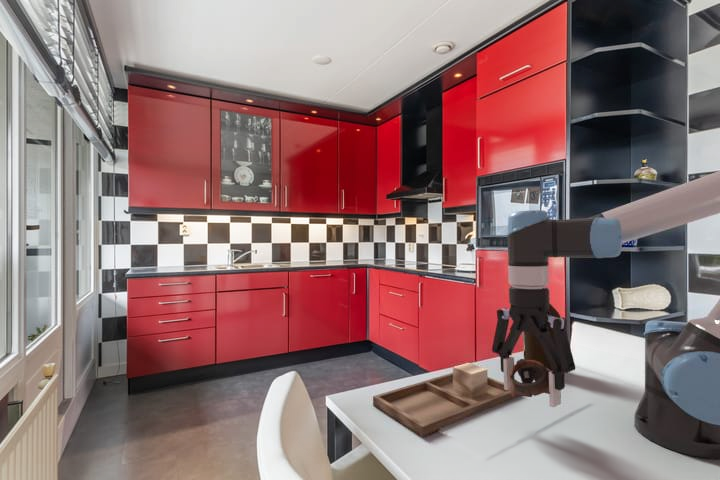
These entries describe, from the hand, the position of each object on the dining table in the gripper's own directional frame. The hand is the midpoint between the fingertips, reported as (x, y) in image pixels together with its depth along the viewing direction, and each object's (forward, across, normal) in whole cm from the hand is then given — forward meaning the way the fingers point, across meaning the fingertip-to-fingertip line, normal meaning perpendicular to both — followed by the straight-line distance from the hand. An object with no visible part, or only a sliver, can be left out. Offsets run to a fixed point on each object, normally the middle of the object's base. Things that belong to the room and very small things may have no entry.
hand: (531, 396), depth 74 cm
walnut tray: (+7, +20, +3) cm, 21 cm away
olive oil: (+8, +19, -36) cm, 41 cm away
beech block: (+7, +20, -5) cm, 21 cm away
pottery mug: (+1, 0, -2) cm, 2 cm away
